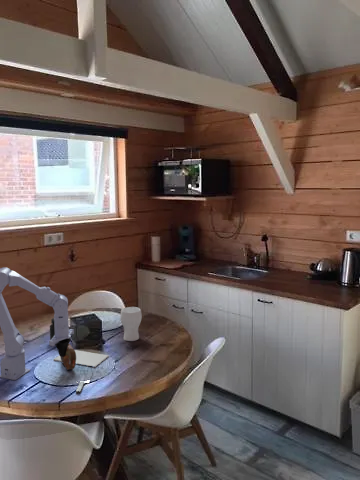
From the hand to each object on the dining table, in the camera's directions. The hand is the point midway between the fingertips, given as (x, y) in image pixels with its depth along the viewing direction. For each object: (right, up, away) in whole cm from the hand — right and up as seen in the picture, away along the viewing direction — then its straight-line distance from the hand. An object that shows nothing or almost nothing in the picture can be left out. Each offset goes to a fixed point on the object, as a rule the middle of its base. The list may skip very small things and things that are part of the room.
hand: (62, 355), depth 177 cm
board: (+5, -4, +11) cm, 13 cm away
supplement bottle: (-11, -2, +30) cm, 32 cm away
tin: (+1, -5, +4) cm, 7 cm away
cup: (+25, -1, +36) cm, 43 cm away
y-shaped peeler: (+11, -8, -10) cm, 17 cm away
